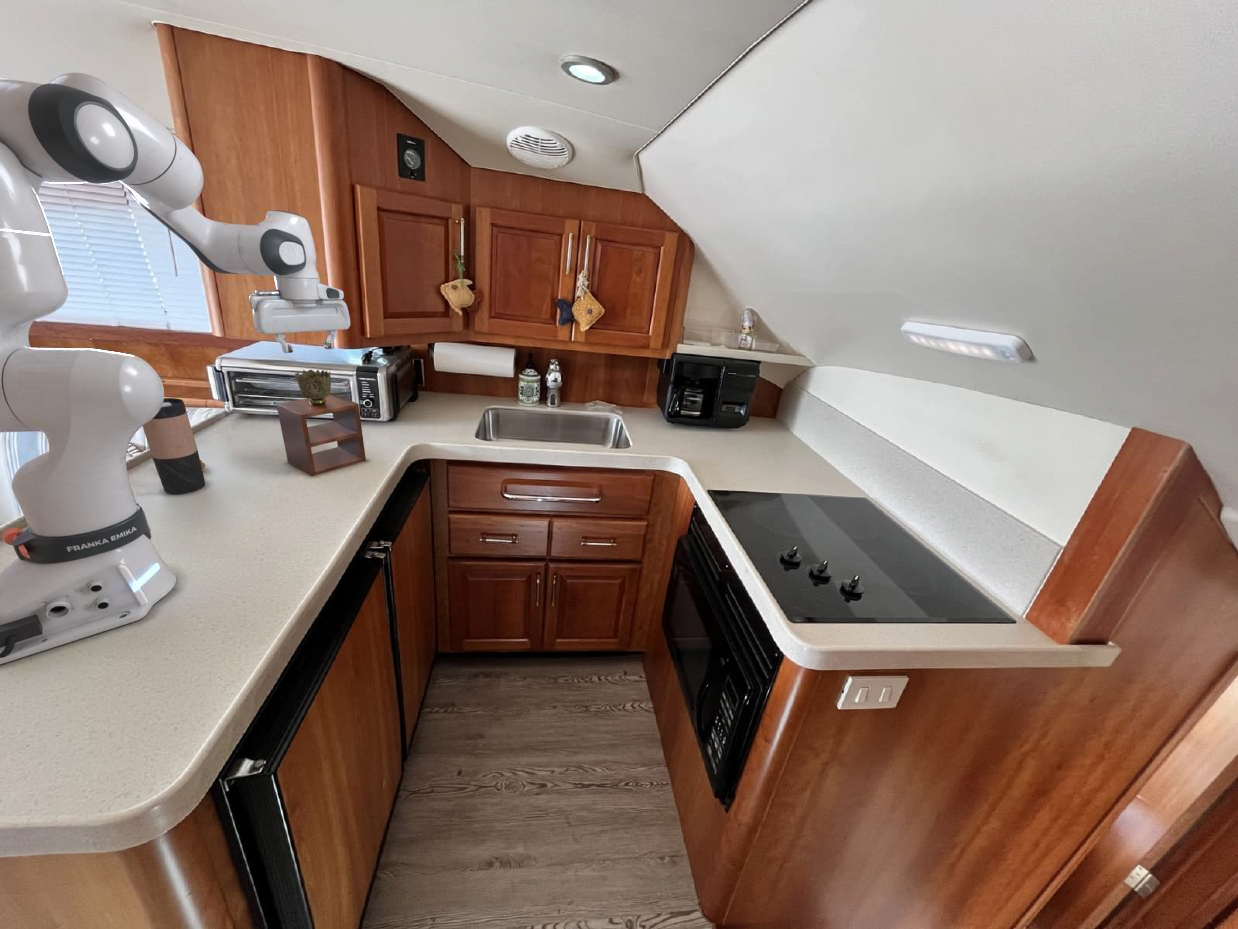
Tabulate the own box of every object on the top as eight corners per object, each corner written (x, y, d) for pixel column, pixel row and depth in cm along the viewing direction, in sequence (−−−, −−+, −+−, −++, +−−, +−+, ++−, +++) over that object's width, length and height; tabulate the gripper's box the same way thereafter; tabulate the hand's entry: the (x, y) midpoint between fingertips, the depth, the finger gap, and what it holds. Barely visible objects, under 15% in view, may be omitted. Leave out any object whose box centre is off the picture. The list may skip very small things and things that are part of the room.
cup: (319, 409, 119) (314, 377, 116) (293, 405, 120) (287, 373, 117) (341, 402, 126) (337, 371, 123) (316, 398, 127) (311, 368, 124)
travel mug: (195, 494, 108) (170, 408, 101) (154, 495, 107) (126, 407, 99) (214, 480, 115) (191, 398, 108) (175, 480, 114) (150, 397, 106)
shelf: (311, 476, 121) (300, 414, 115) (287, 463, 127) (276, 403, 121) (366, 460, 132) (358, 403, 126) (341, 449, 138) (333, 394, 132)
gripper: (254, 291, 103) (267, 357, 108) (349, 291, 119) (357, 348, 124) (241, 288, 106) (254, 352, 112) (335, 289, 122) (343, 345, 128)
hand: (309, 350), depth 118 cm, fingers open, 8 cm apart
